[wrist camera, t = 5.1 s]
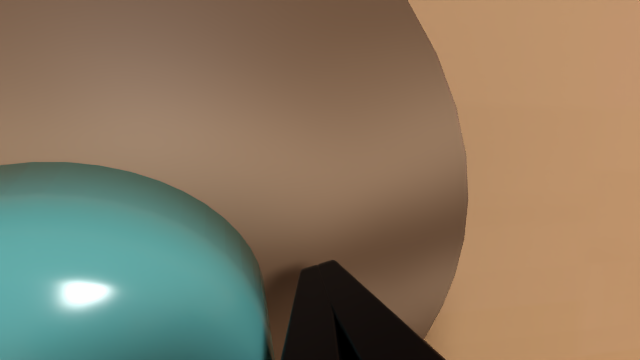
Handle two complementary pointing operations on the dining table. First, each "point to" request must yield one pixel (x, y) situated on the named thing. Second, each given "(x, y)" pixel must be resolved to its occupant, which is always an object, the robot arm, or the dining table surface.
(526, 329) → the dining table surface
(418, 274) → the disc
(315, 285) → the robot arm
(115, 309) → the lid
